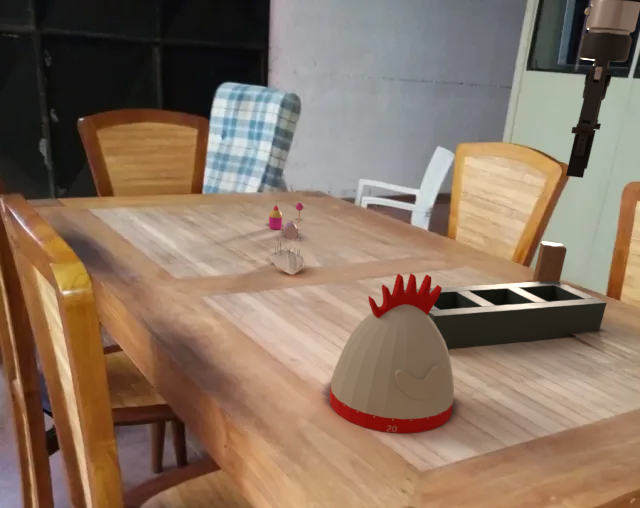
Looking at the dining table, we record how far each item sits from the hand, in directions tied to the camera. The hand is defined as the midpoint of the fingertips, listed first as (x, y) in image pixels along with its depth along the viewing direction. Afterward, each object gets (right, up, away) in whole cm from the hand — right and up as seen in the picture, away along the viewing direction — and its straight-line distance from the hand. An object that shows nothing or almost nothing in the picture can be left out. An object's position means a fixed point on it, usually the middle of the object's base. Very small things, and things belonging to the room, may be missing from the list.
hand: (576, 172), depth 123 cm
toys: (-52, -1, +32) cm, 61 cm away
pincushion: (-51, -16, +4) cm, 54 cm away
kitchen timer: (-37, -42, -43) cm, 70 cm away
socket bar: (-18, -30, -17) cm, 39 cm away
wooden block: (-4, -20, +4) cm, 21 cm away
